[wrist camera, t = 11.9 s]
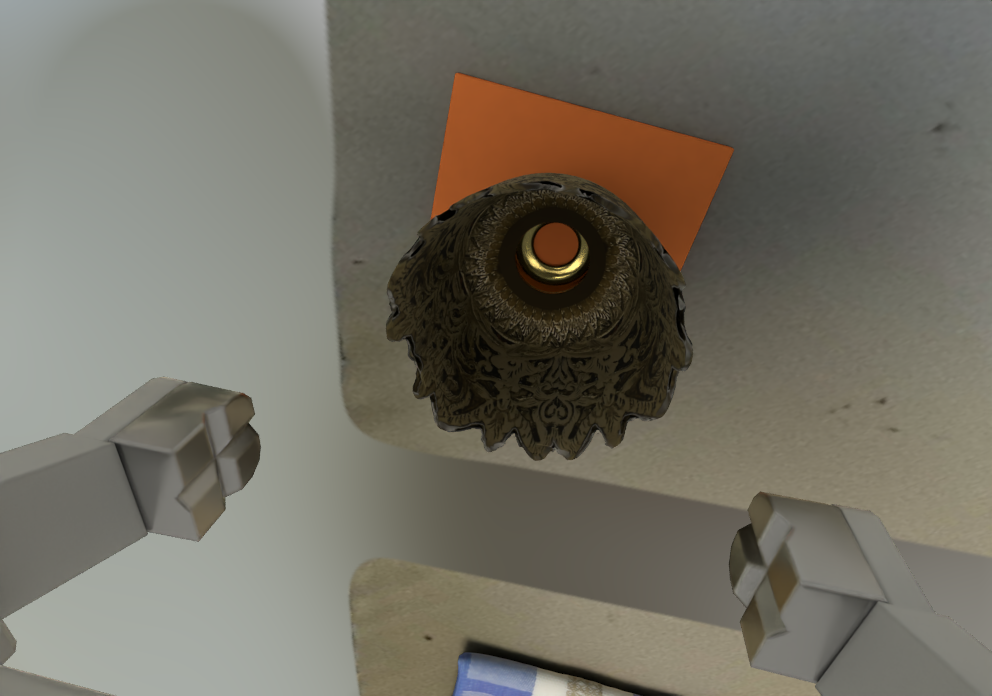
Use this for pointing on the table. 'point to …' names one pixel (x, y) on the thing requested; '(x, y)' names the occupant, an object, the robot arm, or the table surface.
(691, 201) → the orange square board
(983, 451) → the table surface
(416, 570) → the table surface
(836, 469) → the table surface
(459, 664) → the dish towel
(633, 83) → the table surface
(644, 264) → the brown ornate vase
